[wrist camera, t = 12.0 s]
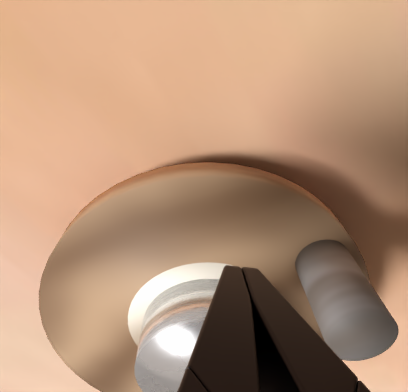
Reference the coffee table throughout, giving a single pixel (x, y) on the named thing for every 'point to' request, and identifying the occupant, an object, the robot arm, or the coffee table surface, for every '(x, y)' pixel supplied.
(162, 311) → the cover
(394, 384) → the coffee table surface
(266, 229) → the turntable
